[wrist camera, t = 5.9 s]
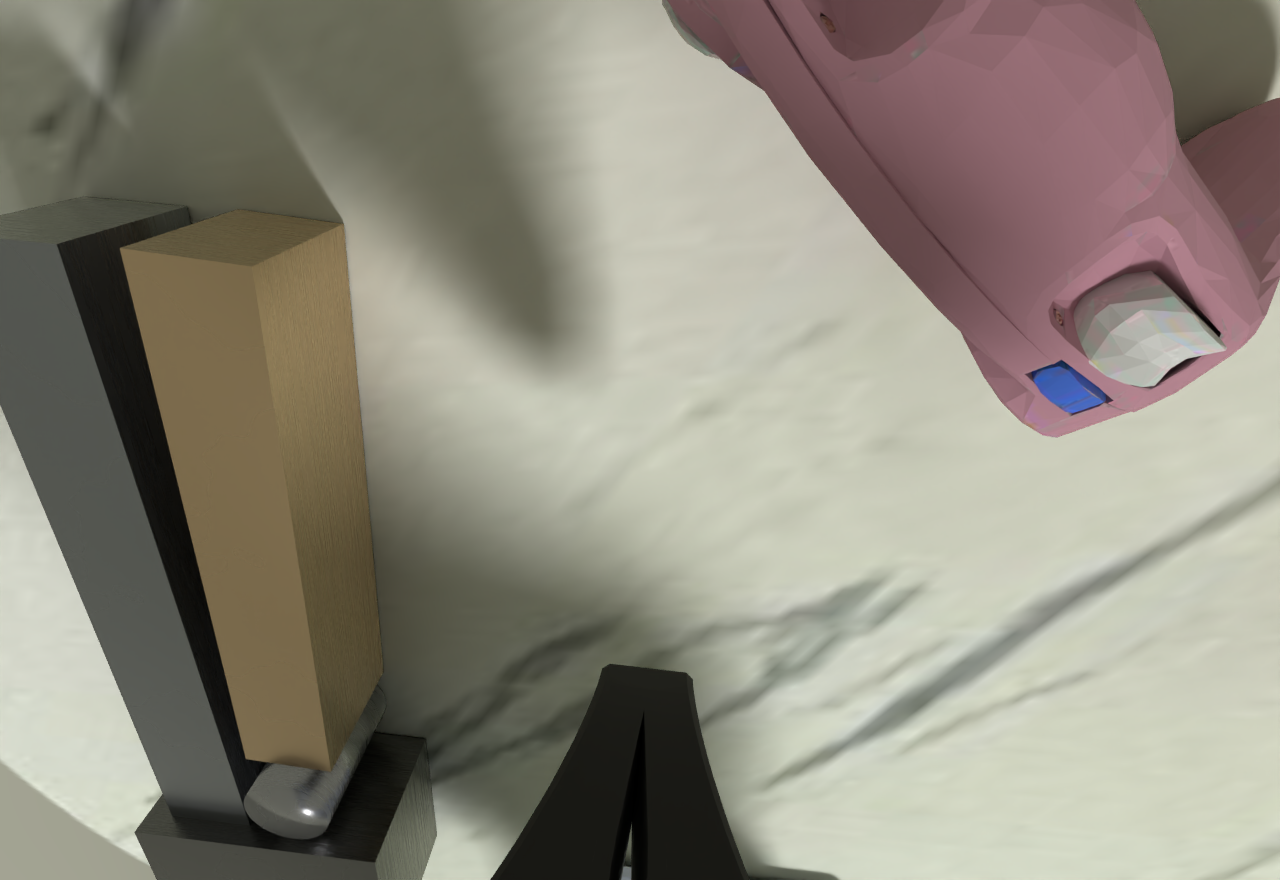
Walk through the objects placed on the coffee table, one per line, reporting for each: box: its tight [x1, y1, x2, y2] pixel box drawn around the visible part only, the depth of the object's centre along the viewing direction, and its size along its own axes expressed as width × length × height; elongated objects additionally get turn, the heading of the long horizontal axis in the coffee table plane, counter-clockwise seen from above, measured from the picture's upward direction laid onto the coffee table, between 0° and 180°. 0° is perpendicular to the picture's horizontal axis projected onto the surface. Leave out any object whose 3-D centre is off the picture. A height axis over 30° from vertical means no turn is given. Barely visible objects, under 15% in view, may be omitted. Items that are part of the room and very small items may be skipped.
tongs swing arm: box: [120, 209, 386, 839], centre depth 15 cm, size 14×2×3 cm, turn 173°
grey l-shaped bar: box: [0, 197, 437, 880], centre depth 16 cm, size 19×6×4 cm, turn 176°
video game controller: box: [662, 0, 1280, 437], centre depth 9 cm, size 10×5×7 cm, turn 46°
